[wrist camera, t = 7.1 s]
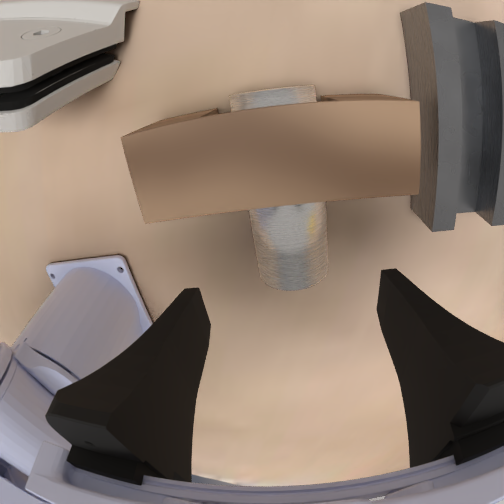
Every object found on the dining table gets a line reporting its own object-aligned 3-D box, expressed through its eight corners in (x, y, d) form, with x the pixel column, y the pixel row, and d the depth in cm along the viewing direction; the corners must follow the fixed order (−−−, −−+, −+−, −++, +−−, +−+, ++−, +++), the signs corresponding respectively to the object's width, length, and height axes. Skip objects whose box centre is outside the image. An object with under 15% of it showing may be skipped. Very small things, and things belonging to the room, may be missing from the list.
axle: (318, 246, 20) (336, 282, 16) (256, 257, 20) (263, 296, 16) (303, 85, 15) (325, 85, 11) (228, 94, 15) (228, 96, 11)
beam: (382, 162, 16) (418, 194, 12) (175, 185, 18) (145, 223, 13) (378, 94, 14) (419, 101, 10) (160, 120, 15) (120, 137, 11)
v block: (482, 203, 16) (507, 224, 14) (410, 208, 17) (432, 232, 15) (481, 29, 10) (512, 26, 8) (400, 12, 11) (425, 2, 8)
